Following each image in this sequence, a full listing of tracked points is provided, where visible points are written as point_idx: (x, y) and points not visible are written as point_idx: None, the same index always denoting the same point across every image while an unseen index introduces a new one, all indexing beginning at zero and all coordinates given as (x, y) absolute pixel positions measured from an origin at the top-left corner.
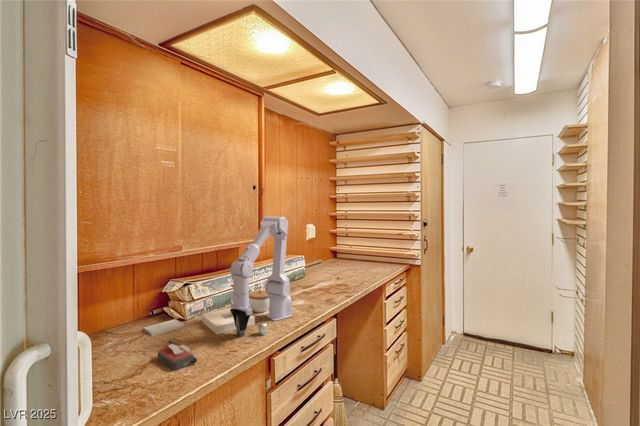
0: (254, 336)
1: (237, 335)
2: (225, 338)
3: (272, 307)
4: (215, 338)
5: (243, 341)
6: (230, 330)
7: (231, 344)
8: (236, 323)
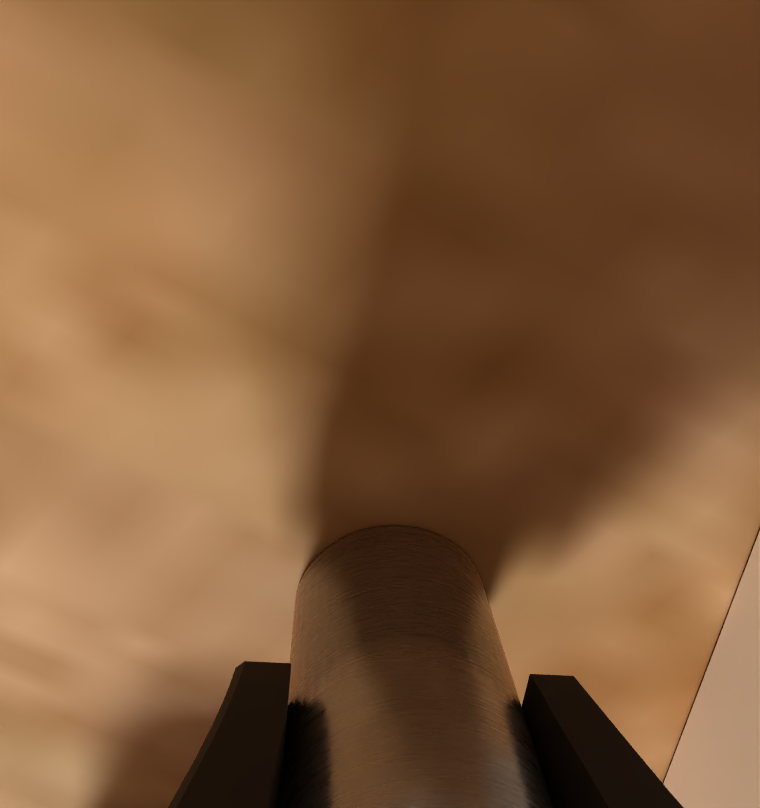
0: (143, 747)
1: (373, 540)
2: (483, 275)
3: None
4: (691, 65)
5: (40, 501)
6: (754, 559)
7: (40, 208)
8: (475, 791)
